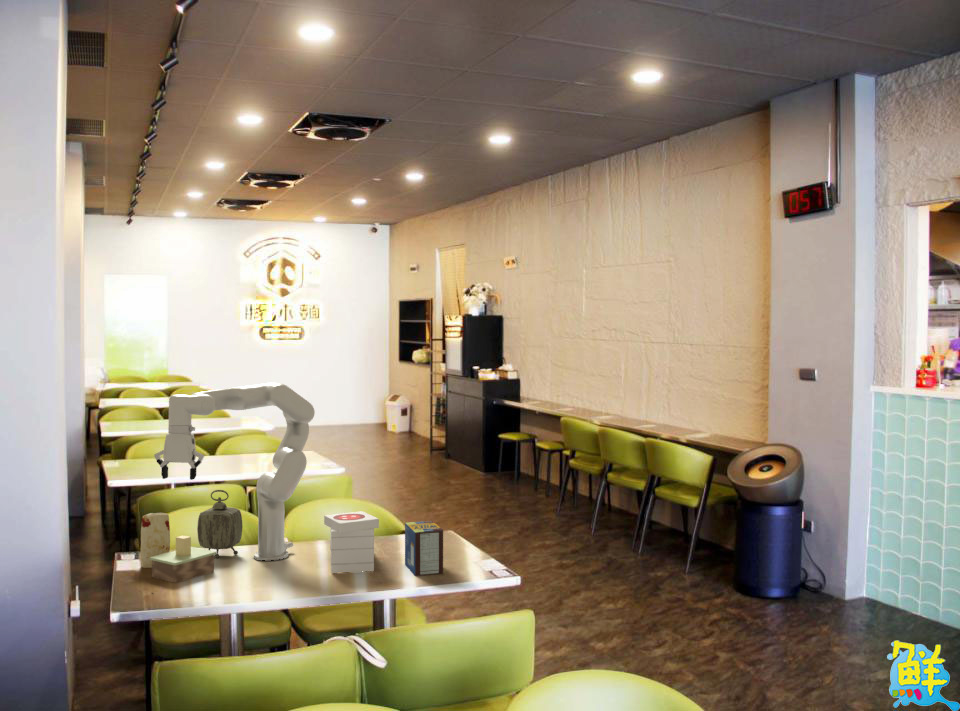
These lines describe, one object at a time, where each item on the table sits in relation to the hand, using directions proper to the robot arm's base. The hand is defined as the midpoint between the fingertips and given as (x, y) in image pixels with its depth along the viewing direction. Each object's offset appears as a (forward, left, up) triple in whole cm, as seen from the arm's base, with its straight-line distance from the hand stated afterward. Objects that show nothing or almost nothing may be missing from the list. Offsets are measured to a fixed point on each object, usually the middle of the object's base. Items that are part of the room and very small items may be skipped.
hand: (178, 478), depth 288 cm
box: (+4, +7, -33) cm, 34 cm away
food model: (+2, -9, -33) cm, 34 cm away
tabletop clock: (-21, -3, -33) cm, 39 cm away
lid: (+4, +7, -27) cm, 28 cm away
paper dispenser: (-41, +43, -33) cm, 68 cm away
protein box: (-49, +70, -33) cm, 92 cm away
